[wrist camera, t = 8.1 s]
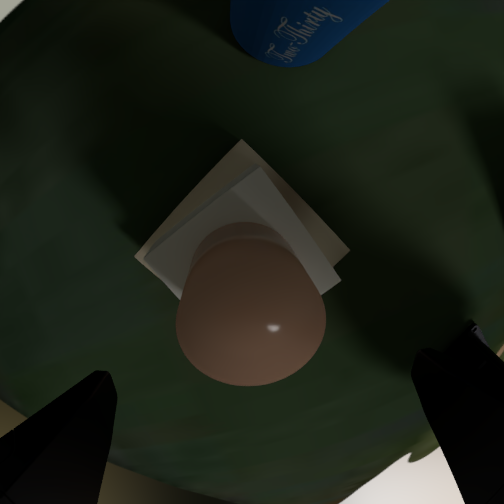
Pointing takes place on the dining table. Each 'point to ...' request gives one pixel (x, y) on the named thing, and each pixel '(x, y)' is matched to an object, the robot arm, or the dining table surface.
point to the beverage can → (295, 27)
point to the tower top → (231, 211)
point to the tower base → (225, 173)
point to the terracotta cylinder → (248, 307)
